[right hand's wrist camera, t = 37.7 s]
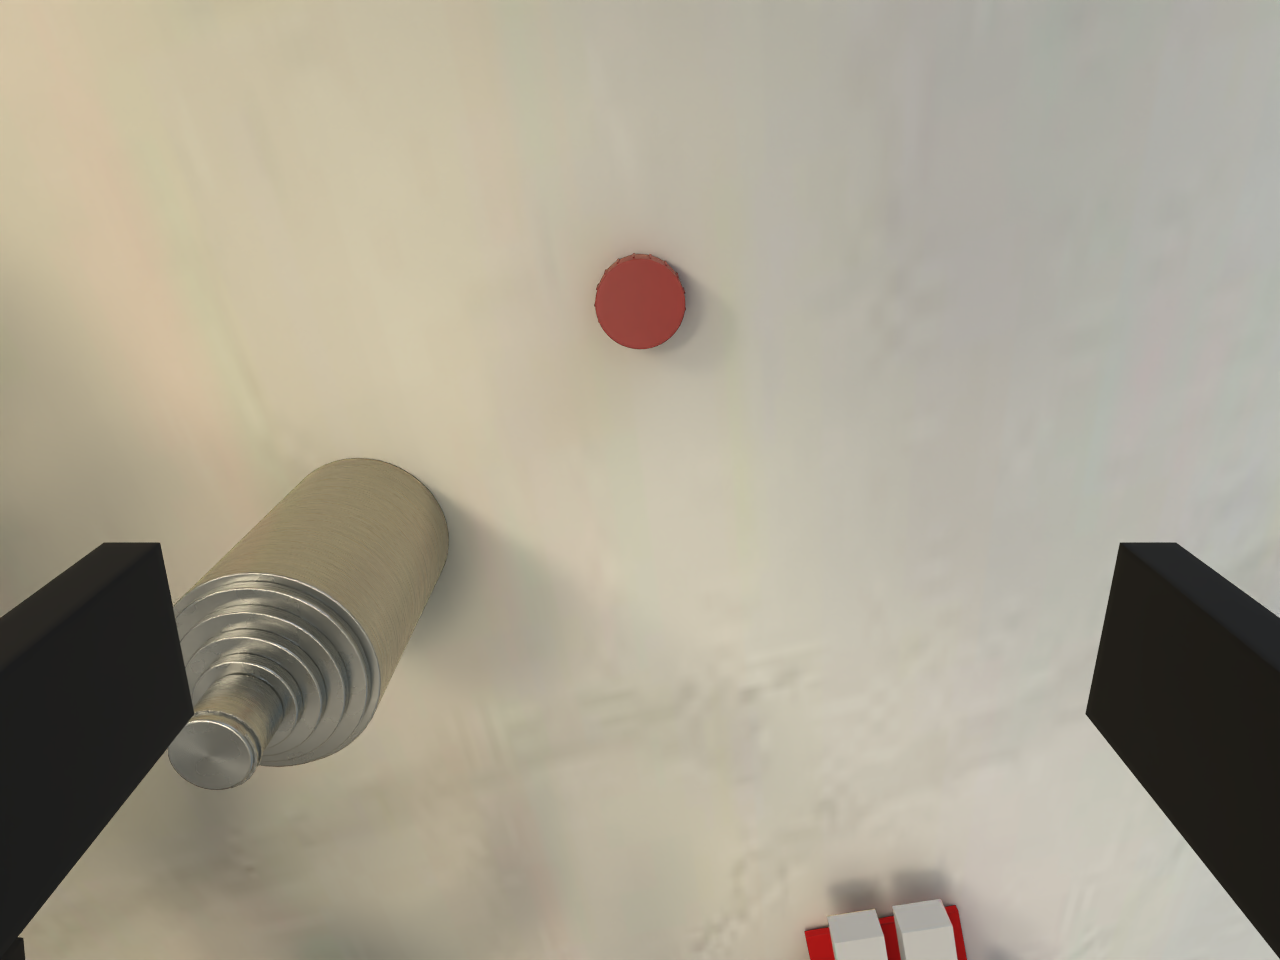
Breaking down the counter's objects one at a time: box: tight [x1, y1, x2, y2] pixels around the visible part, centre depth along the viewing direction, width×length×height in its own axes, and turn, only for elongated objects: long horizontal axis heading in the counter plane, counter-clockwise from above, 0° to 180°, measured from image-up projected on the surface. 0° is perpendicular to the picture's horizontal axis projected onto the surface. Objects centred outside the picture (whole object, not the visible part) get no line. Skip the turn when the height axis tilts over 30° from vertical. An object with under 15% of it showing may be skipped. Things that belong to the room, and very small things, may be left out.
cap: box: [594, 253, 686, 349], centre depth 40 cm, size 4×4×2 cm
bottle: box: [168, 458, 449, 790], centre depth 37 cm, size 8×8×18 cm
